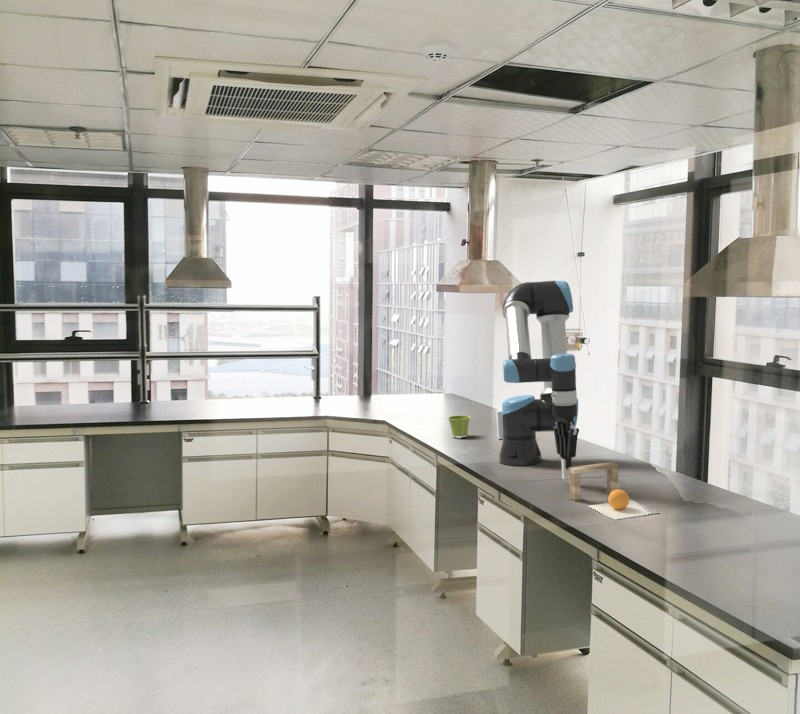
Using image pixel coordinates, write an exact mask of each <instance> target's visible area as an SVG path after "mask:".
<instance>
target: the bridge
mask: <svg viewBox="0 0 800 714" xmlns="http://www.w3.org/2000/svg"><path fill="white" fill-rule="evenodd" d="M605 470H606V493H607V494H608V493H609V494H608V495H610V493H611V492H612V491H614V490H617V489H619V464H618V463H616V462H613V461H610V462H609V461H608V462H602V463H593V464H586V465H584V464H583V465H578V466H576V465H575V466H572V467H569V468H568V471H569V479H568V490H569V491H568V494H569V495H568V496H569V499H570V498H571V499H570V500H572V499H573V500H572V501H574V500H578V501H581V499H582V498H581V493H582V492H581V474H583V473H589V472H598V471H605Z"/></svg>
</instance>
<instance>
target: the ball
mask: <svg viewBox="0 0 800 714" xmlns="http://www.w3.org/2000/svg"><path fill="white" fill-rule="evenodd" d="M607 499H608V500H607V501H608V503H609V504H610V505H611V506H612V507H613V508H614V509H617V510H621V509H624V508H626V507H627V506H628V504H629V500H630V497H629V495H628V493H627V492H626V491H625V490H622V489H621V488H620V489H619V488H618V489H617V490H614V491H612V492H611V493H610V494H608V498H607Z"/></svg>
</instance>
